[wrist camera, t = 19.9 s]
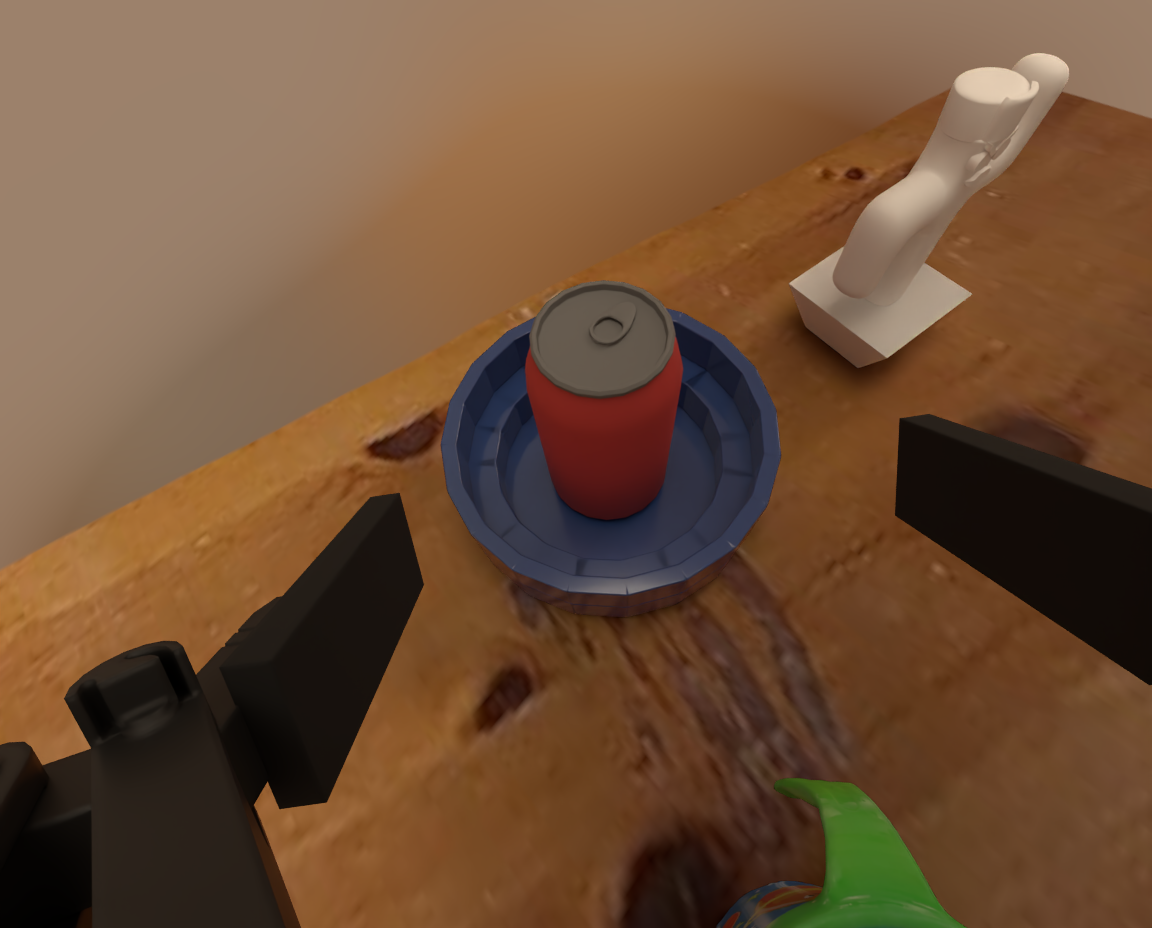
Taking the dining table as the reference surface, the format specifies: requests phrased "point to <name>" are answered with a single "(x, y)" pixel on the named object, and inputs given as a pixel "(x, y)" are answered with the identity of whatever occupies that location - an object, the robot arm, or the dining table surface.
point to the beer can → (604, 395)
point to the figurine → (924, 215)
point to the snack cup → (846, 873)
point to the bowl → (625, 545)
